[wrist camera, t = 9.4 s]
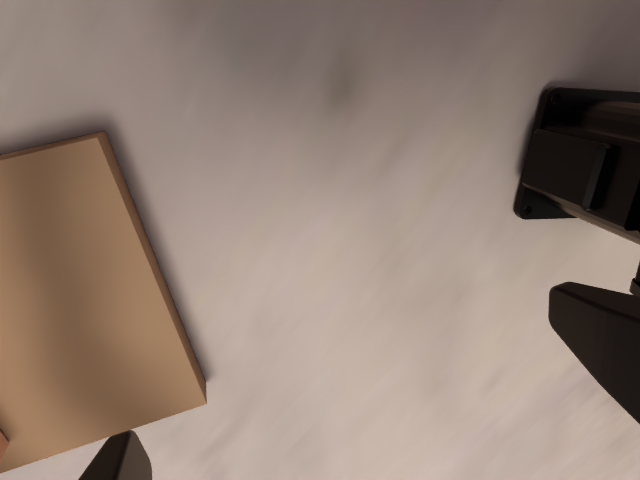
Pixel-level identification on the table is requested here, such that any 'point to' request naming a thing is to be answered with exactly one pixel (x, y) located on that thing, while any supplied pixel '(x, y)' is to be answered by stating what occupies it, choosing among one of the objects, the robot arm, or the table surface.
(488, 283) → the table surface
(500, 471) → the table surface
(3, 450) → the tile
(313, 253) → the table surface
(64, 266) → the board
